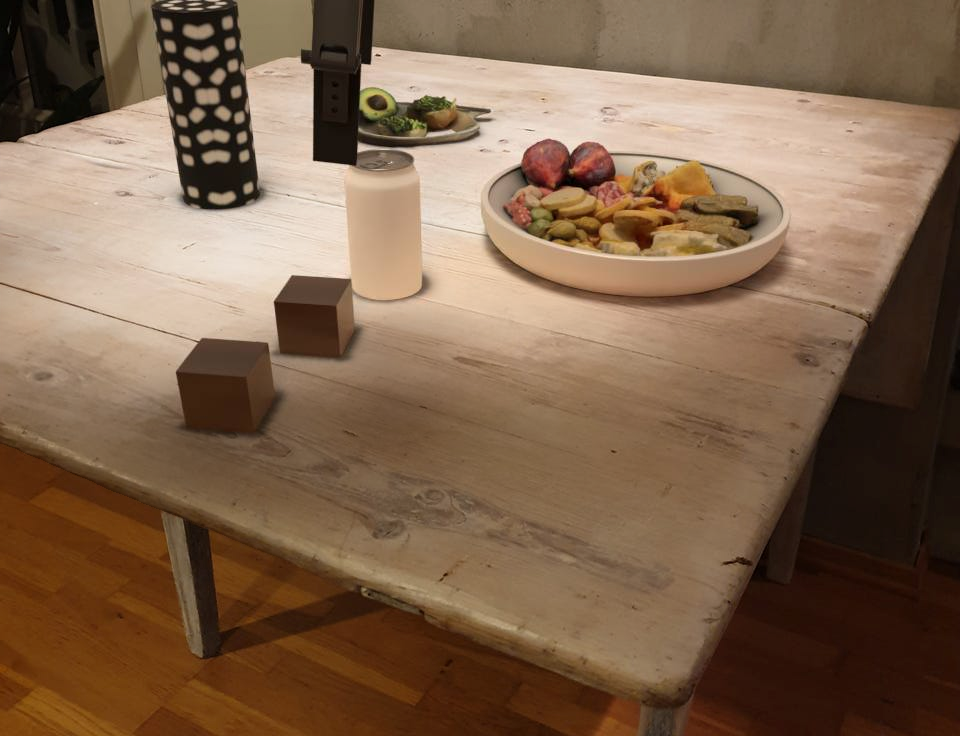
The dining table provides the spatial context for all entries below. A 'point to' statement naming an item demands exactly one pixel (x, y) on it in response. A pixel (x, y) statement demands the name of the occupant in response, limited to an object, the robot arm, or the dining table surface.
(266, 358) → the near block
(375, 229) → the can
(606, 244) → the bowl
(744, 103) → the dining table surface
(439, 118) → the salad plate
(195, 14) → the spotted tube
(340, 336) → the far block
